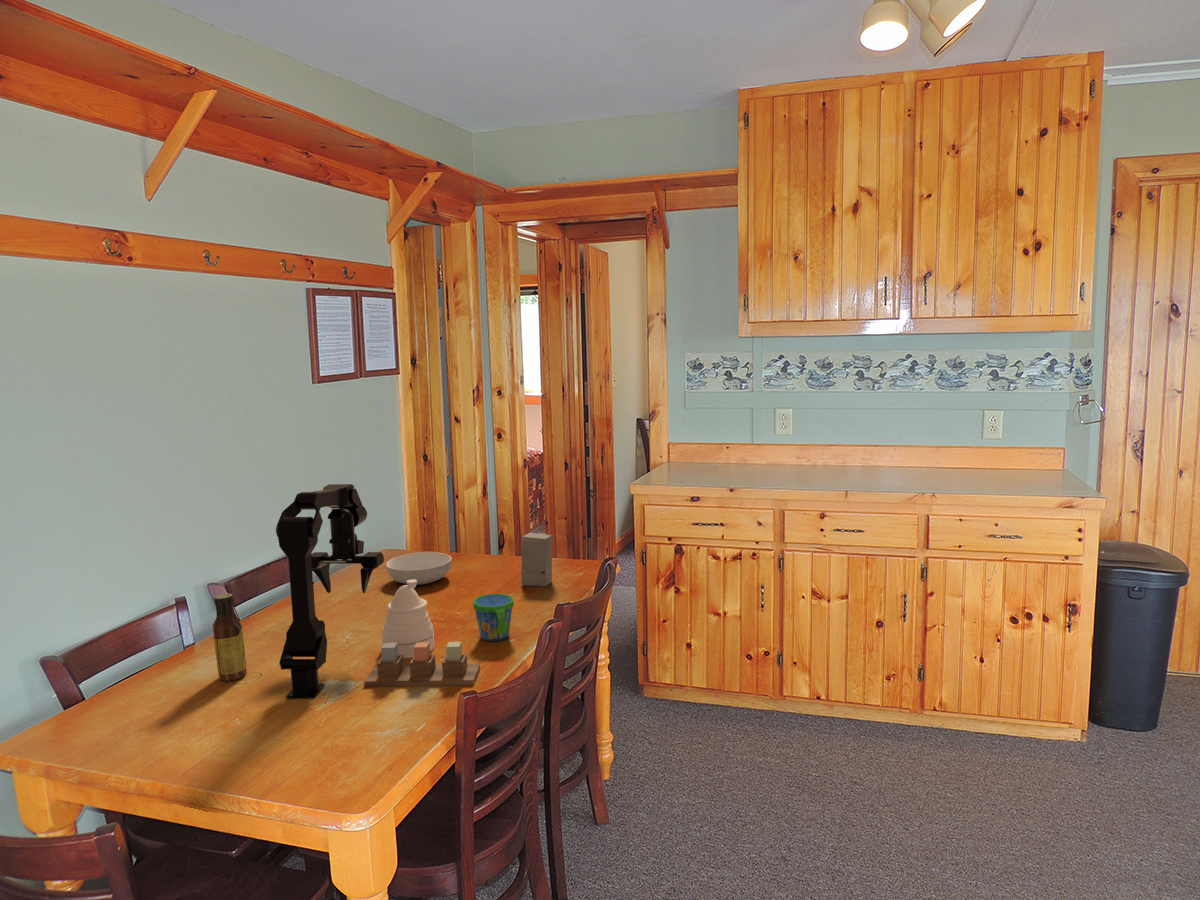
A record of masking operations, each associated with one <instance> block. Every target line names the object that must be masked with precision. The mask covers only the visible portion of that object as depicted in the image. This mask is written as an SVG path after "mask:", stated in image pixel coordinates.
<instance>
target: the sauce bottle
mask: <svg viewBox="0 0 1200 900" xmlns="http://www.w3.org/2000/svg"><path fill="white" fill-rule="evenodd" d="M213 600H214V602H213V603H214V604H215V610H216V618H215V619H214V621H213V624H212V631H213V643H214V644H213V645H214V651H215V652H214V653H215V661H216V666H217V667H216V668H217V674H218V678H219V679H220V681H223V682H231V681H232V682H233V681H236V680H239V679H241V678H244V677H245V676H246V675H247V659H246V651H245V642H244V636H243V635H244V634H243V632H244V631H243V628H242V627H243V626H242V624H241V621H240V620H239V618H238V617H237V614H236V612H235V607H234V595H233V594H232V593H221V594H217V595H216V596H214V597H213Z"/></svg>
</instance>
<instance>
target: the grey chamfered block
mask: <svg viewBox="0 0 1200 900" xmlns="http://www.w3.org/2000/svg"><path fill="white" fill-rule="evenodd" d="M380 651H381V657H382V663H385V662H397V661H398V659H399V657H398V643H384V645H382V646H381V648H380Z"/></svg>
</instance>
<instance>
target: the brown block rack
mask: <svg viewBox="0 0 1200 900" xmlns="http://www.w3.org/2000/svg"><path fill="white" fill-rule="evenodd" d="M398 657H399V659H398V661H397V662H385V663H382V656H381V657H380V659H379V660H378V662H377V663H376V665H375V666H373V668H372V670H371V671H370V673H369V674H367V676H366V678H365V679H364V681H363V686H364V687H420V686H421V687H424V686H425V687H426V686H428V687H429V686H430V687H431V686H433V687H434V686H438V687H439V686H474V685H475V682H476V680H477V678H478V675H479V673H480V670H481V664H480V663H469V664H468V654H467V653H462V661H454V662H447V655H446V654H445V656H444V658H443V659H442V662H441V664H436V654H430V660H429V662H414V657H413V658H411V660H410V662H409V664H405V661H404V660H405V658H403V655H398Z"/></svg>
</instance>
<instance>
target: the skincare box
mask: <svg viewBox="0 0 1200 900" xmlns="http://www.w3.org/2000/svg"><path fill="white" fill-rule="evenodd" d="M521 539H522V540H521V541H522V542H521V546H522V547H521V585H522V586H527V587H528V586H529V587H543V588H545V587H547V586H549V584H551V583H552V580H553V579H552V578H553V577H552V576H553V575H552V574H553V572H552V571H553V534H547V533H546V534H545V533H535V532H528V533H527V534H524V535H522V538H521Z"/></svg>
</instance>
